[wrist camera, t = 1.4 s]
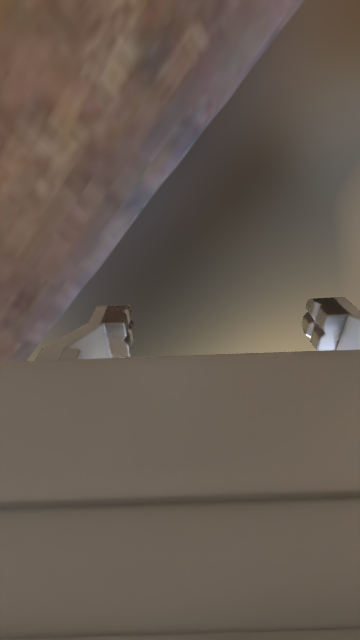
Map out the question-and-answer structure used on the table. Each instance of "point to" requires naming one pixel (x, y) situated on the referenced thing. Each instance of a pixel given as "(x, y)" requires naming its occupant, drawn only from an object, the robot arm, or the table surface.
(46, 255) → the table surface
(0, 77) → the table surface
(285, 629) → the robot arm
